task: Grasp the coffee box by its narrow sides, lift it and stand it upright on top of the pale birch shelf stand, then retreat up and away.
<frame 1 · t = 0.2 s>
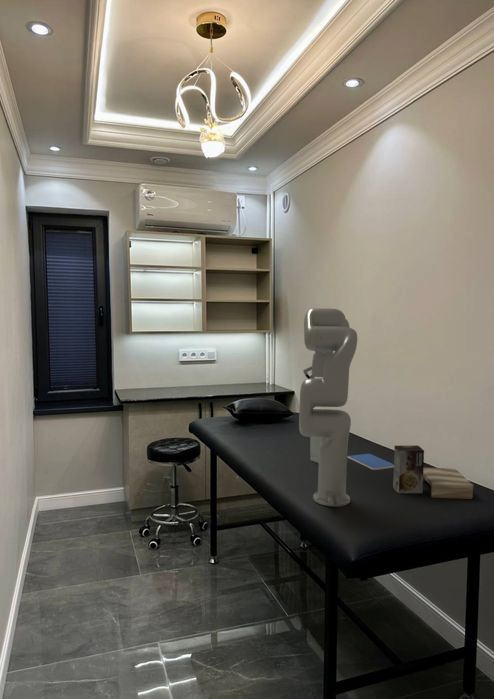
hand: (323, 389, 213), 31 cm above the table, tool pointing down, fingers open, 9 cm apart
tablet computer: (371, 463, 215), on the table
skincare box: (320, 462, 214), on the table
shelf stand: (443, 488, 184), on the table
coffee box: (407, 491, 182), on the table
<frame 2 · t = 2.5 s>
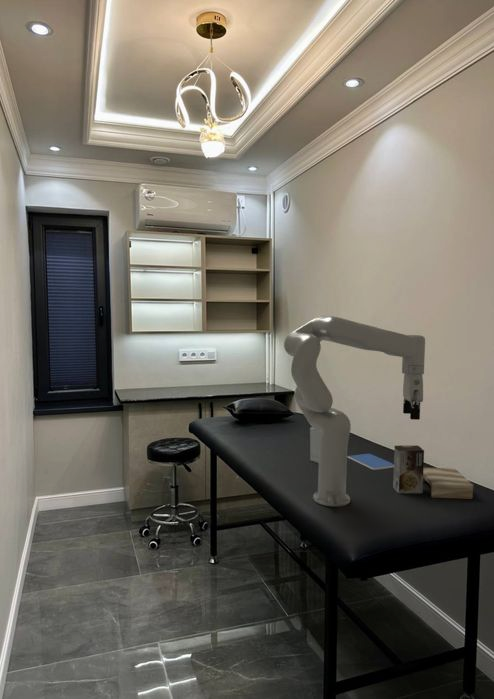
hand: (411, 416, 179), 28 cm above the table, tool pointing down, fingers open, 9 cm apart
nothing on the table moved.
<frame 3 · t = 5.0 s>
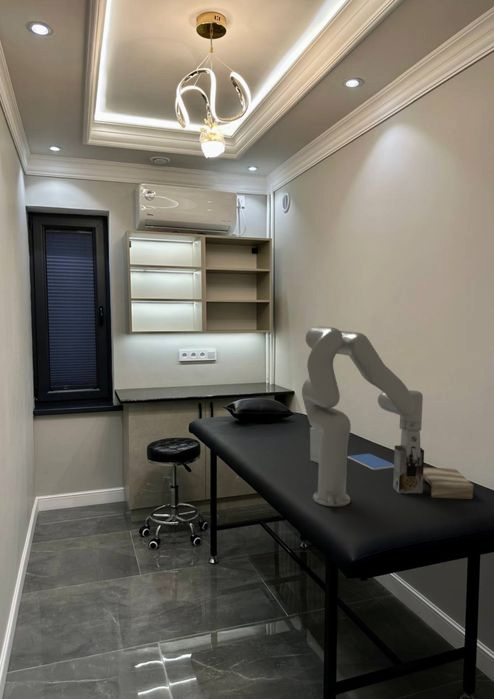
hand: (408, 472, 181), 7 cm above the table, tool pointing down, fingers closed on coffee box, 6 cm apart
coffee box: (407, 490, 182), on the table, touching gripper
everything else where it was.
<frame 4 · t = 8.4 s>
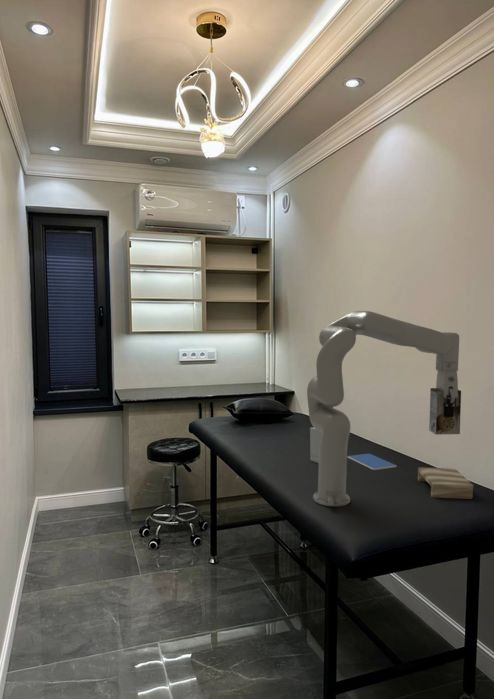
hand: (444, 414, 181), 28 cm above the table, tool pointing down, fingers closed on coffee box, 6 cm apart
coffee box: (443, 433, 182), point 21 cm above the table, touching gripper
everything else where it was.
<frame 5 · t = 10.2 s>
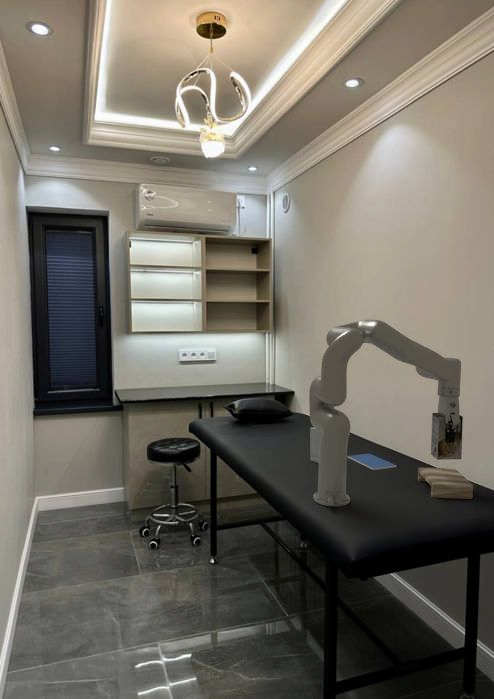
hand: (446, 439, 182), 19 cm above the table, tool pointing down, fingers closed on coffee box, 6 cm apart
coffee box: (445, 457, 183), point 12 cm above the table, touching gripper
everything else where it was.
when the fingers open (13 cm above the table, at t = 11.8 s): coffee box drops 1 cm, resting on shelf stand.
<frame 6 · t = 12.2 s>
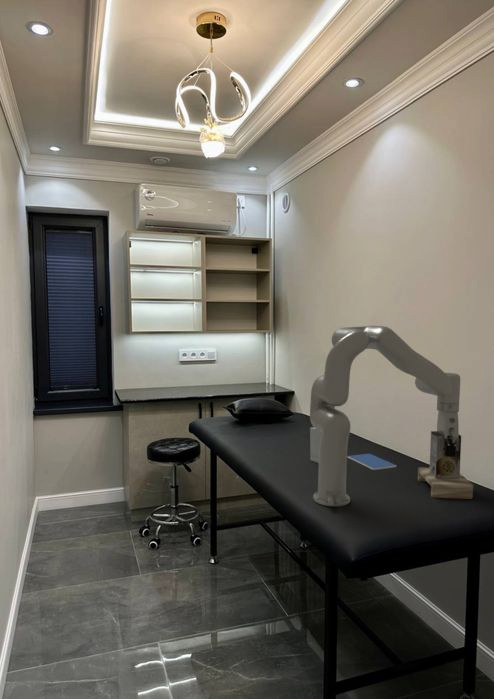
hand: (445, 452, 183), 14 cm above the table, tool pointing down, fingers open, 9 cm apart
coffee box: (443, 476, 183), point 5 cm above the table, touching shelf stand
everything else where it was.
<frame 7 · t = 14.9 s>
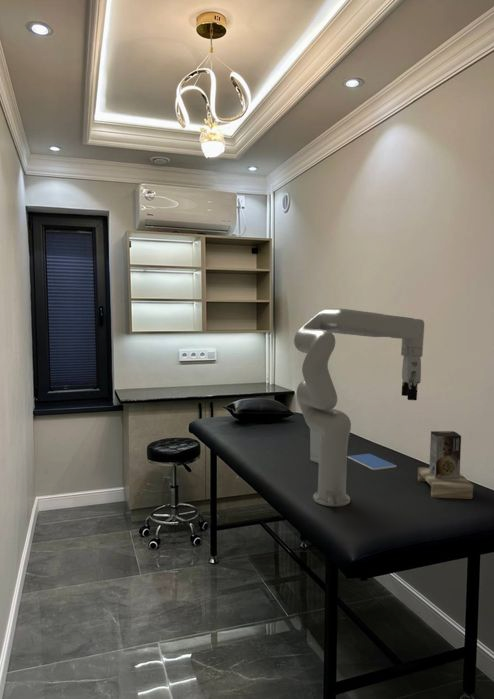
hand: (408, 397, 185), 33 cm above the table, tool pointing down, fingers open, 9 cm apart
nothing on the table moved.
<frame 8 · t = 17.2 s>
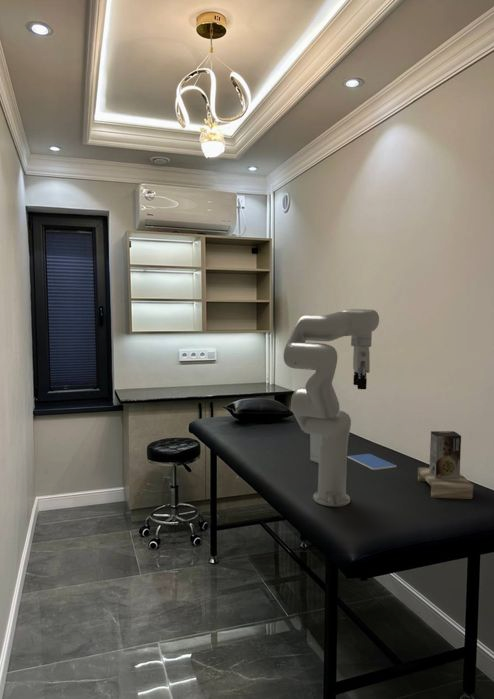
hand: (359, 387, 190), 36 cm above the table, tool pointing down, fingers open, 9 cm apart
nothing on the table moved.
at the end: coffee box inside the target area on the shelf stand (0.2 cm from its centre), point 4.8 cm above the shelf stand's base; coffee box tilted 0°; the gripper is holding nothing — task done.
